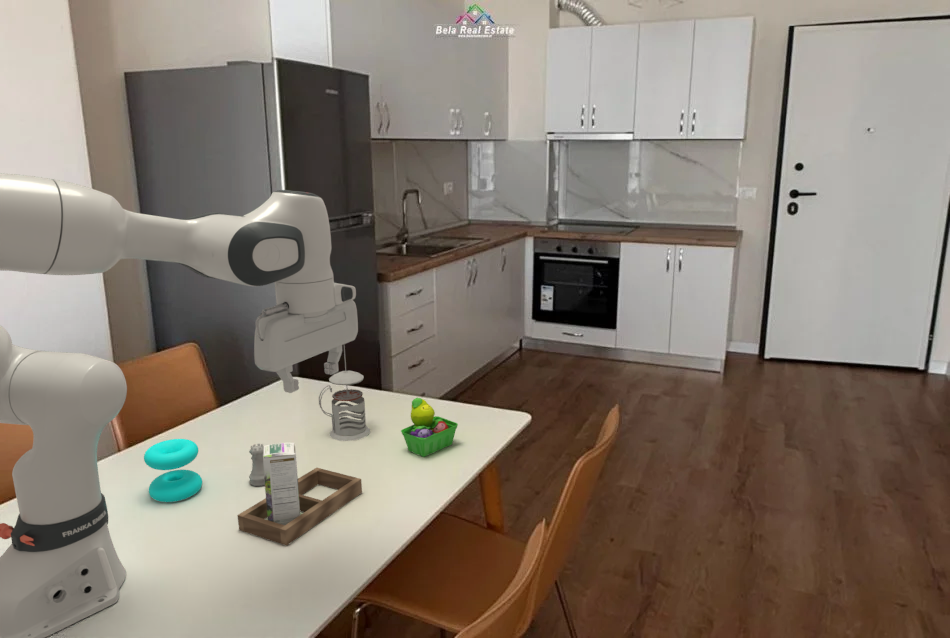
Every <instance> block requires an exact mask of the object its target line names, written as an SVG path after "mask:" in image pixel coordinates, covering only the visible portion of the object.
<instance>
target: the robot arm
mask: <svg viewBox="0 0 950 638" xmlns="http://www.w3.org/2000/svg"><path fill="white" fill-rule="evenodd" d="M331 254H332V236H331V225H330V220H329V215H328V210H327V207H326V205H325V202H324V199H323V198H322V197H320V196H319V195H317V194H315V193H313V192H308V191H306V192H305V191H299V190H290V189H277V190H274V191H273V192H272V193H271V195H270V197H269V198H268V199H267V200H266V201H264V202H263V203H262V204H261V205H260V206H258V207H257V208H255V209H253V210H252V211H250V212H248V213H246V214H244V215H243V216H239V215H232V214H227V213H224V212H218V211H209V212H203V213H200V214H197V215H193V216H190V217H186V218H174V217H173V218H172V217H166V216H160V215H159V216H158V215H154V214H153V215H151V214H145V213H139V212H135V211H131V210H128V209H125V208H123V206H122V205H121V204H120V202H119V201H118V200H117V199H116V198H115V197H114V196H113V195H111V194H109V193H105V192H103V191H100V190H97V189H95V188H91V187H88V186H84V185H81V184H78V183H73V182H69V181H65V180H60V179H55V178H54V179H53V178H47V177H42V176H41V177H40V176H34V175H25V174H16V173H14V174H13V173H5V172H4V173H1V172H0V271H6V272H7V271H9V272H10V271H11V272H19V273H27V274H37V275H49V276H51V275H52V276H82V275H83V276H84V275H94V274H104V273H105V272H107V271H109V270H110V269H112V268H113V267H114V266H115V265H117V263H118V262H119V261H120V260H124V259H125V260H126V259H132V260H134V259H135V260H145V261H155V262H165V263H166V262H167V263H176V264H179V265H182V266H183V267H185V268H186V269H188V270H190V271H192V272H193V273H195V274H196V275H199V276H201V277H204V278H207V279H216V280H221V281H225V282H229V283H235V284H238V285H243V286H246V287H247V286H248V287H263V286H267V285H270V284H273V283H274V289H275V292H274V293H275V303H276V304H275V305H274V306H271V307H270V306H269V307H265V308H263V309H262V310H261V312H260V314H258V317H256V319H255V330H254V342H253V343H254V344H253V345H254V347H253V348H254V349H253V351H254V352H253V356H254V364H255V366H256V367H257V368H258V369H259V370H262V371H265V372H272V373H274V372H275V373H276V374H277V375H278V377H279V378H280V380H281V381H282V385H283V391H284V392H285V393H289V394H292V393H295V392H297V391H298V390H299V389H300V387H299V383H300V382H299V379H297V378H294V377H293V375H292V373H291V372H293V368H294V367H293V365H295V364H296V365H297V364H298V363H301V362H303V361H305V360H308V359H311V358H312V357H317V356H318V355H320V354H323V353H326V352H328V355H327V360H326V362H324V363H323V368H324V374H326V375H331V376H333V375H334V374H336V373H339V372H340V371H339V361H340V360H341V356H342V353H343V346H344V345H346V344H349V343H350V342H353V341H355V340H356V338H357V335H358V334H359V333H358V332H359V322H358V309H357V305H356V302H355V301H354V300H355V299H356V296H357V290H356V287H355V286H353V285H349V284H345V283H337V282H336V281H335V280H334V272H333V269H332V266H331ZM12 341H13V340H12V338H11V335H10V334H9V332H8V330H7V329H5V327H4V326H2V325H1V324H0V424H10V425H20V426H21V425H23V426H29V427H30V428H31V431H32V434H33V442H32V448H30V449H29V450H27V451H26V452H25V453H24V454H23V455H21V456H20V457H19V459H18V460H17V461H16V462H15V464H14V467H12V473H11V475H12V480H13V486H14V492H15V496H16V502H17V507H18V512H19V513H18V516H17V517H16V519H17V520H16V521H15V525H14V526H13V525H9V524H7V523H5V522H0V538H1V539H2V540H8V539H11V543H10V545H9V546H8V548H7V549H6V550H5V551H4V552H3V554H1V556H0V638H47V637H49V636H51V635H53V634H54V633H58V632H60V631H61V630H63V629H65V628H68V627H70V626H71V625H74V624H75V623H78V622H79V621H82V620H83V619H86V618H87V617H89V616H92V615H94V614H96V613H98V612H100V611H101V610H104V609H106V608H109V607H110V606H112V605H114V604H116V603H117V602H118V601H119V598H120V592H119V590H120V588H121V587H122V585H123V583H124V582H125V579H126V576H127V572H126V568H125V566H124V564H123V563H122V561H121V559H120V557H119V556H118V554H117V551H116V548H115V546H114V543H113V541H112V537H111V533H110V530H109V525H108V524H109V513H108V506H107V501H106V498H105V495H104V494H103V492H102V489H101V484H100V477H99V467H98V466H99V465H98V446H99V440H100V438H101V434H102V432H103V431H104V428H105V427H106V426H107V425H108V424H109V423H110V422H111V421H113V420H115V418H116V417H117V416H118V414H119V413H120V412H121V410H122V408H123V406H124V404H125V402H126V398H127V393H128V392H127V391H128V385H127V380H126V378H125V375H124V373H123V370H122V369H121V368H120V367H119V365H117V364H116V363H115V362H113V361H110V360H107V359H105V358H102V357H98V356H96V355H93V354H92V355H91V354H87V353H83V352H82V353H81V352H64V351H49V350H48V351H47V350H38V349H33V348H26V347H21V346H18V345H15V344H13V342H12Z"/></svg>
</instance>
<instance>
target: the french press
mask: <svg viewBox="0 0 950 638" xmlns="http://www.w3.org/2000/svg"><path fill="white" fill-rule="evenodd" d="M345 345H346V344H343V353H344V354H343V355H344V356H343V357H344V368H345V370H342V371H338V372H337V373H335V374H332V375H331V376H330V377H329V378H328V380H329V382H330V384H332V385H335V386H336V385H337V386H346V387H345V388H346V389H342V390H337V391H335V392H334V393H333V387H331V385H329V384H327V385H326V386H325V387H323V388H322V389H321V390H320V393H319V395H318V406H319V408H320V410H321V411H322V412H323V414H324V415H326V416H327V417H330V418H331V425H332V426H331V427H332V430H330V432H329V437H330V438H331V439H332V440H337V441H343V442H349V441H356V440H360V439H364V438H366V437H367V436H368V434H369V435H370V433H371V428H370V427H368V426H367V419H366V407H365V406H366V405H365V402H366V401H365V397H363V395H364V393H363V391H361V390H359V389H352V388H351V389H348V388H349V387H348V386H350V385H356V384H359V383H361V382H362V381H363V380H364V375H363V374H361V373H360V372H357V371H353V370H347V362H346V361H347V360H346V349H345V348H346V346H345ZM327 387H328V388H327ZM327 390H329V392H330V393H333V394H332V396H331V397H332V398H333V399H332V400H331V411H332V413H329V412H327V411H325V410H324V409H323V407H322V398H323V395H324V393H326V391H327ZM338 402H339V403H338ZM349 402H350V403H349ZM351 403H352V404H351ZM346 411H348V412H346ZM349 412H350V413H349Z"/></svg>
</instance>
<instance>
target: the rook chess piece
mask: <svg viewBox="0 0 950 638" xmlns="http://www.w3.org/2000/svg"><path fill="white" fill-rule="evenodd" d="M264 446H265V445H264V444H263V443H257V445H256V444H255V443H254V444H253V445H250V449H249V452H248V453H249V454H250V455H251V458H250V460H251V462H252V466H251V471H250V474H249V476H248V477H249V481H248V482H249V484H250V485H251V486H253V487H265V480H264V465H263V449H264V448H263V447H264Z"/></svg>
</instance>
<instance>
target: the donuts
mask: <svg viewBox="0 0 950 638" xmlns="http://www.w3.org/2000/svg"><path fill="white" fill-rule="evenodd" d="M198 454H199V447H198V445H197V444H196V442H195V441H193V440H190V439H186V438H174V439H173V438H172V439H168V440H167V439H166V440H162V441H160V442H157V443H154V444H153V445H152V446H150V447H149V448H147V449H146V451H145V453H144V454H143V455H144V456H143V462H145V464H146V466H148V467H149V468H150V469H154V470H159V471H167V472H165V473H162V474H160V475H158V476H157V477H155V478H154V479H153V480H152V481H151V483H150V484H149V487H148V494H149V496H150V497H151V498H152V500H155V501H157V502H160V503H174V502H181V501H183V500H186V499H189V498H191V497H192V496H194V495H196V494H197V493H198V492H199V491H200V490H201V488H202V487H203V479H202V477H201V475H200V474H198V473H197V472H196V471H193V470H191V469H190V470H189V469H180V468H183V467H185V466H187V465H189V464H191V463H192V462H193V461H195V459H197V457H198Z"/></svg>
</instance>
